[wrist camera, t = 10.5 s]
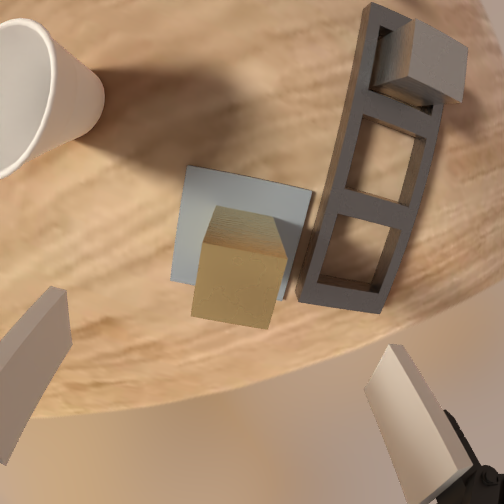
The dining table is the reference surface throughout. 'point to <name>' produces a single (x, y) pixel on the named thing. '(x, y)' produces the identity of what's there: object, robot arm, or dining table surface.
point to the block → (419, 66)
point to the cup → (41, 94)
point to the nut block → (239, 269)
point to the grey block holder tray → (361, 203)
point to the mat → (241, 198)
